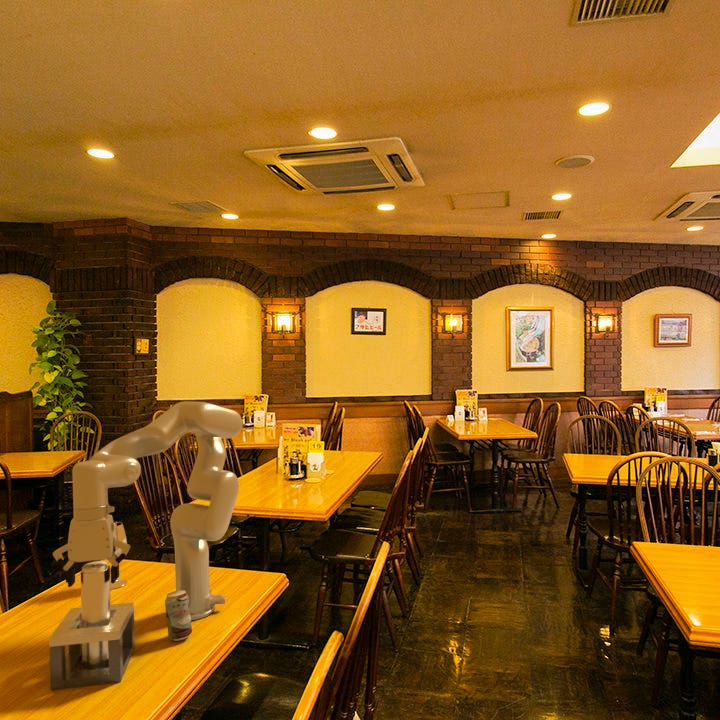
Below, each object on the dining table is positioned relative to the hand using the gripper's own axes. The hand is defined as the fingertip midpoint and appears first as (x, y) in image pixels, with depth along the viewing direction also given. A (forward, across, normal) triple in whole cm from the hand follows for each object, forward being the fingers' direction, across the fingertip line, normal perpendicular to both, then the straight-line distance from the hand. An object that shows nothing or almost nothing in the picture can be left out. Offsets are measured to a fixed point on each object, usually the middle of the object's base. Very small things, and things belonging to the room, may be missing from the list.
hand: (93, 583), depth 135 cm
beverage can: (+21, -18, -11) cm, 30 cm away
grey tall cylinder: (+21, 0, 0) cm, 21 cm away
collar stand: (+21, 0, 0) cm, 21 cm away
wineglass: (+21, +8, -52) cm, 57 cm away
